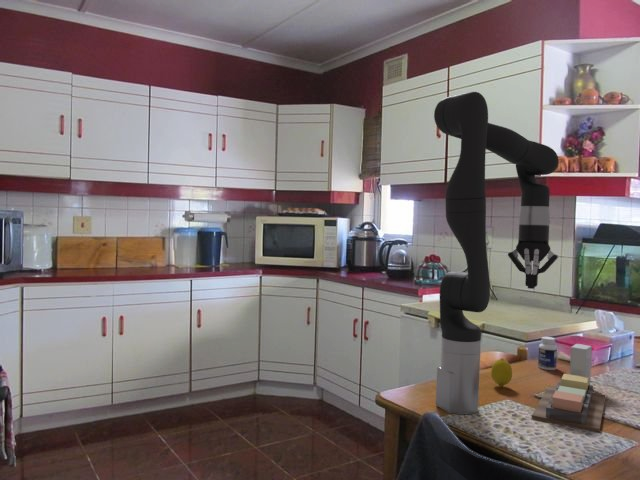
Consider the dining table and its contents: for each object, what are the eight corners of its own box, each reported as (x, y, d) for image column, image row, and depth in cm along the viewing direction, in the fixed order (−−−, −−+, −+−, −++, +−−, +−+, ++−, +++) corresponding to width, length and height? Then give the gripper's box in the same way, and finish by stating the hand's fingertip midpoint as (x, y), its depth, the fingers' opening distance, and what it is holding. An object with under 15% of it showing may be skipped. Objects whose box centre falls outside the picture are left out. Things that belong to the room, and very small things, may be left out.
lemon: (507, 391, 144) (509, 362, 144) (487, 386, 147) (488, 358, 147) (514, 386, 148) (515, 358, 148) (494, 382, 152) (495, 354, 151)
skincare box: (574, 384, 152) (575, 343, 152) (590, 387, 149) (592, 345, 149) (568, 389, 147) (570, 346, 147) (585, 392, 145) (587, 349, 144)
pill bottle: (535, 368, 169) (537, 337, 169) (540, 364, 173) (541, 335, 173) (553, 371, 166) (555, 340, 165) (558, 368, 170) (559, 337, 170)
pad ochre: (586, 394, 136) (586, 382, 135) (560, 390, 139) (561, 378, 138) (588, 388, 141) (588, 377, 141) (563, 384, 144) (563, 373, 144)
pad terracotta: (580, 415, 120) (581, 402, 120) (551, 409, 123) (552, 397, 123) (582, 407, 125) (583, 395, 125) (555, 402, 128) (555, 390, 128)
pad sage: (583, 408, 128) (583, 396, 128) (556, 403, 131) (556, 391, 131) (585, 401, 133) (585, 390, 133) (559, 397, 136) (559, 385, 136)
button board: (599, 432, 116) (599, 418, 116) (531, 418, 123) (532, 405, 123) (605, 398, 140) (605, 386, 140) (548, 388, 148) (548, 377, 147)
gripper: (505, 222, 142) (502, 287, 142) (559, 224, 135) (556, 291, 135) (511, 223, 148) (508, 285, 148) (562, 224, 141) (560, 289, 142)
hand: (531, 288), depth 142 cm, fingers closed
